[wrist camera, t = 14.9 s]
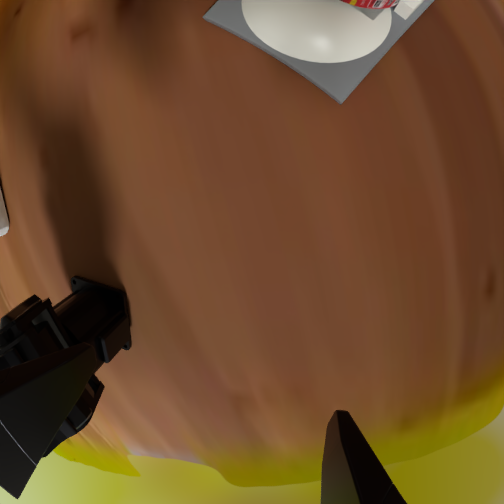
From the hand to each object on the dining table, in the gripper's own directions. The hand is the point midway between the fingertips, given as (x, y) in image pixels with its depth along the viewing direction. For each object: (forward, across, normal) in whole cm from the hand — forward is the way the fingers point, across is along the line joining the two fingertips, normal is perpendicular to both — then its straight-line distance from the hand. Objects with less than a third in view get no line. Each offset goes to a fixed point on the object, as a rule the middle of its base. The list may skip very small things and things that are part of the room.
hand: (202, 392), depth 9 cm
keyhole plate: (+12, -3, -21) cm, 24 cm away
